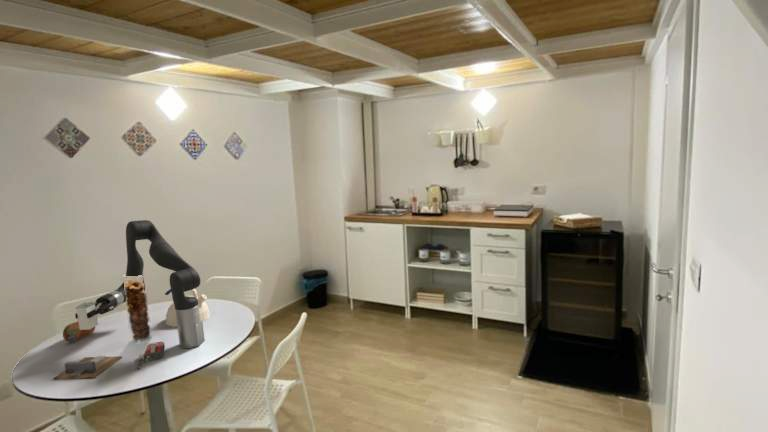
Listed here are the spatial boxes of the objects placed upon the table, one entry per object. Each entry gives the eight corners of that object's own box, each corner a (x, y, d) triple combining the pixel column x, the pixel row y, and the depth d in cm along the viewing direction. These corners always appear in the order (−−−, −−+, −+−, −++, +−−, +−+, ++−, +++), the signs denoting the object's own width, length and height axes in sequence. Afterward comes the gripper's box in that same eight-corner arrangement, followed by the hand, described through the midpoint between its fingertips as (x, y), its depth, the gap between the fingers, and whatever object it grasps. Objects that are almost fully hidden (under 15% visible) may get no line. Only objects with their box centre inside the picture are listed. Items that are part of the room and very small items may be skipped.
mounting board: (122, 357, 176) (121, 356, 175) (94, 378, 160) (94, 376, 160) (84, 358, 176) (84, 357, 176) (53, 379, 160) (53, 377, 160)
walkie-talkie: (143, 350, 182) (135, 372, 163) (141, 341, 181) (133, 361, 163) (165, 346, 185) (160, 367, 167) (164, 336, 184) (159, 356, 166)
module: (98, 324, 182) (94, 302, 180) (89, 329, 177) (85, 306, 175) (88, 324, 182) (84, 302, 180) (79, 329, 177) (75, 307, 175)
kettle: (200, 326, 204) (195, 290, 202) (157, 328, 205) (152, 292, 202) (216, 310, 224) (213, 277, 222) (178, 312, 225) (174, 279, 222)
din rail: (105, 357, 175) (105, 356, 175) (80, 375, 161) (79, 373, 161) (97, 358, 175) (97, 356, 175) (71, 376, 161) (71, 374, 161)
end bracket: (96, 370, 164) (94, 361, 164) (93, 372, 163) (91, 363, 162) (69, 371, 165) (67, 361, 164) (66, 373, 163) (64, 363, 163)
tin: (68, 345, 190) (65, 327, 189) (63, 345, 191) (59, 327, 190) (97, 331, 205) (94, 314, 203) (91, 330, 205) (89, 314, 204)
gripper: (93, 294, 192) (63, 308, 175) (124, 292, 191) (97, 307, 175) (96, 309, 193) (66, 325, 176) (126, 308, 193) (100, 324, 176)
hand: (82, 316), depth 176 cm, fingers closed on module, 4 cm apart
